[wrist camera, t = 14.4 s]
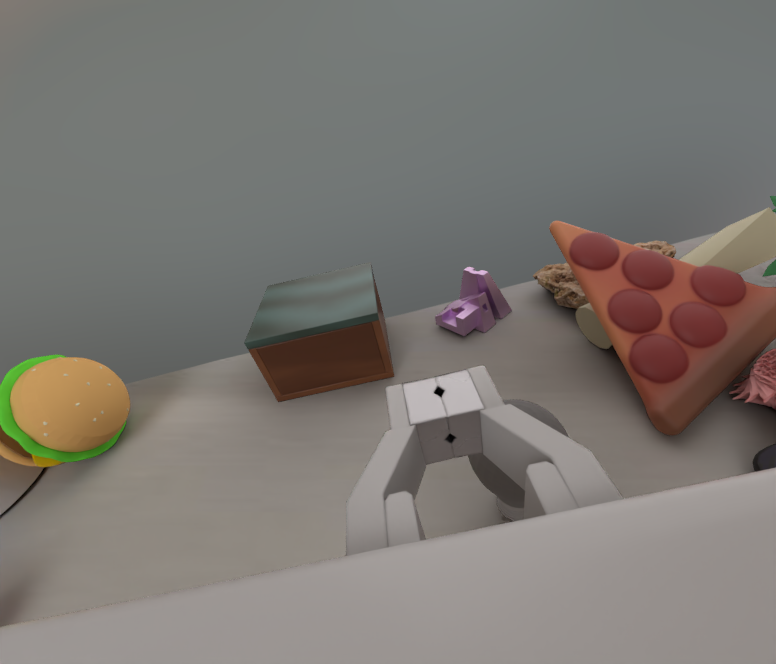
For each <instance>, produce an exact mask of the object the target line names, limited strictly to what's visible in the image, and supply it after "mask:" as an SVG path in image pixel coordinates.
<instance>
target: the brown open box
mask: <svg viewBox="0 0 776 664" xmlns="http://www.w3.org/2000/svg"><path fill="white" fill-rule="evenodd" d="M373 279H374V276H373ZM374 286H375V293H376V300H377V307H378V314H379V320H376V321H372V322H368V323H363V324H359V325H354V326H350V327H346V328H341V329H337V330H332V331H328V332H323V333H319V334H315V335H310V336H306V337H301V338H297V339H292V340H288V341H284V342H279V343H275V344H270V345H266V346H262V347H257V348H253V349H249V352H250V354H251V355H252V357H253V359H254V360H255V362H256V364H257V366H258V367H259V369H260V371H261V373H262V374H263V376H264V378H265V380H266V381H267V383H268V385H269V387H270V388H271V390H272V392H273V394H274V395H275V397H276V399H277V401H278V402H280V401H285V400H289V399H294V398H298V397H303V396H308V395H312V394H317V393H321V392H326V391H330V390H335V389H339V388H344V387H349V386H353V385H358V384H362V383H367V382H371V381H376V380H380V379H385V378H390V377H394V372H393V366H392V360H391V354H390V348H389V342H388V336H387V330H386V324H385V319H384V315H383V311H382V307H381V303H380V299H379V295H378V291H377V287H376V283H375V279H374Z"/></svg>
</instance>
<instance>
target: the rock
mask: <svg viewBox="0 0 776 664" xmlns="http://www.w3.org/2000/svg"><path fill="white" fill-rule="evenodd" d="M634 246H637V247H640V248H643V249H646V250H651V251H655V252H658V253H660V254H662V255H665V256H668V257H671V258H673V257H674V255H675V254H676V249H675V248H674V246H672V245H669V244H668V243H667V242H665V241H664V242H661V241H653V242H648V243H636V244H634ZM533 277H534V278H535V279H538V284H540V285H541V286H542V287H544V288H545V289H547V290H550V291H551V292H552V293H554V299H555V300H556V301H557V304H558V305H562V306H566V307H571V308H576V309H578V308H579V307H581V306H583V305H586V304H588V303H589V301H588V299H587V297H586V295H585V294H584V292H583V290H582V288H581V286H580V285H579V283H578V281H577V279H576V277H575V275H574V274H573V272H572V270H571V268H570V266H569V264H568V263H565V264H556V265H547V266H545V267H544V268H543V269H541V270H539V271H538V272H537V273H535V274H534V275H533Z"/></svg>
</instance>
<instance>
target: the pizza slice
mask: <svg viewBox="0 0 776 664" xmlns="http://www.w3.org/2000/svg"><path fill="white" fill-rule="evenodd" d="M549 229H550V232H551V233H552V235H553V237H554V239H555V241H556V243H557V244H558V246H559V248H560V250H561V252H562V253H563V255H564V257H565V259H566V261H567V263H568V264H569V266H570V268H571V270H572V272H573V274H574V275H575V277H576V279H577V281H578V283H579V285H580V286H581V288H582V290H583V292H584V294H585V295H586V297H587V299H588V301H589V303H590V305H591V306H592V308H593V310H594V312H595V314H596V316H597V317H598V319H599V321H600V323H601V325H602V327H603V328H604V330H605V332H606V334H607V336H608V337H609V339H610V341H611V343H612V345H613V347H614V348H615V350H616V352H617V354H618V356H619V358H620V359H621V361H622V363H623V365H624V367H625V369H626V370H627V372H628V374H629V376H630V378H631V379H632V381H633V383H634V385H635V387H636V389H637V390H638V392H639V394H640V396H641V398H642V400H643V402H644V405H645V408H646V411H647V414H648V416H649V418H650V420H651V421H652V423H653V425H654V426H655V427H656V429H657V430H659V431H660V432H662V433H664V434H667V435H677V434H679V433H681V432H682V431H683V430H684V429H685V428H686V427H687V426H688V425H689V424H690V423H691V422H692V421H693V420H694V419H695V418H696V417H697V416H698V415H699V414H700V413H701V412H702V411H703V410H704V409H705V408H706V407H707V406H708V405H709V404H710V403H711V402H712V401H713V400H714V399H715V398H716V397H717V396H718V395H719V394H720V393H721V392H722V391H723V390H724V389H725V388H726V387H727V386H728V385H729V384H730V383H731V382H732V381H733V380H734V379H735V378H736V377H737V376H738V375H739V374H740V373H741V372H742V371H743V370H744V369H745V368H746V367H747V366H748V365H749V364H750V363H751V362H752V361H753V360H754V359H755V358H756V357H757V356H758V355H759V354H760V353H761V352H762V351H763V350H764V349H765V348H766V347H767V346H768V345H769V344H770V343H771V342H772V341H773V340H774V339H775V338H776V287H761V286H757V285H754V284H751V283H748V282H745V281H744V280H743V278H742V277H741V276H740V275H739V274H737V273H735V272H733V271H730V270H727V269H724V268H720V267H716V266H710V265H704V266H701V267H699V266H696V265H692V264H689V263H686V262H683V261H680V260H677V259H674V258H671V257H668V256H665V255H662V254H660V253H658V252H655V251H651V250H646V249H643V248H640V247H637V246H634V245H631V244H628V243H625V242H622V241H619V240H616V239H612V238H610V237H609V236H607V235H605V234H602V233H596V232H591V231H588V230H585V229H582V228H579V227H576V226H573V225H569V224H567V223H564V222H560V221H554V222H553V223H551V225H550V228H549Z"/></svg>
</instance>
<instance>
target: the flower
mask: <svg viewBox="0 0 776 664" xmlns="http://www.w3.org/2000/svg"><path fill="white" fill-rule="evenodd" d="M756 362H757V363H755V364H754V367H753V368H751V371H750V375H744V376H742V377H743V378H747V379H745V380H744V381H743V382H740V383H737V384H734V385H733V386H740V387H739V388H737V389H736V390H735V391H731V392H729V393H730V394H732V393H740V394H739V395H738V396H736V397H734V398H733V399H742V398H743V399H747V400H745V402H744V403H747V402H752V403H757V404H762V405H767V406H770V407H773V409H776V349H772V350H771V351H768V352H766V353H765V354H764V355H762V356H761V357H760V358H758V360H757V361H756Z"/></svg>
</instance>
